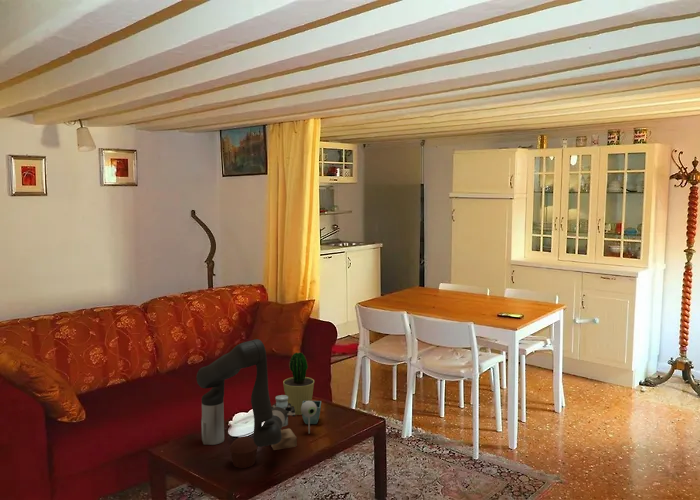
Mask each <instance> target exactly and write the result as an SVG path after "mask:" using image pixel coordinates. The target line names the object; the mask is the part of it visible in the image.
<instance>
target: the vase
mask: <svg viewBox="0 0 700 500" xmlns="http://www.w3.org/2000/svg"><path fill="white" fill-rule="evenodd" d="M275 404H276V407H281V408H283V407H285V406H287V405H288V396H286V395H285V394H281V395H276V396H275ZM288 425H289V416H288V417H287V418H286V421H285V423H284V425H283V427H286V426H288Z"/></svg>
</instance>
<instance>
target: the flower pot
mask: <svg viewBox="0 0 700 500" xmlns="http://www.w3.org/2000/svg"><path fill="white" fill-rule="evenodd" d="M312 401H313V402H314V403H315V404H316V406H317V411H316V414H315V415H314V416H312V417H310V425H317V424H318V422H319V419H320V415H321V409H322V407H321V406H322V400H312ZM304 402H305V401H303V403H304ZM303 403H302V404H303ZM301 417H302V420H303V422H304V423H305V425H308V417H306V416H304V415H303V414H302V415H301Z"/></svg>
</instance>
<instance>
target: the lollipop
mask: <svg viewBox="0 0 700 500" xmlns="http://www.w3.org/2000/svg"><path fill="white" fill-rule="evenodd" d="M313 401H314V400H312V401H305V402H304V403H303V404H302V406H301V412H302V414H303V415H304V416H306V417H308V424H307V425H308V427H307V428H308V430H307V431H308V435H309V434H311V424H310V417H312V416H314V415H315V414H316V411H317V406H316V404H315V403H314V402H313Z"/></svg>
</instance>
